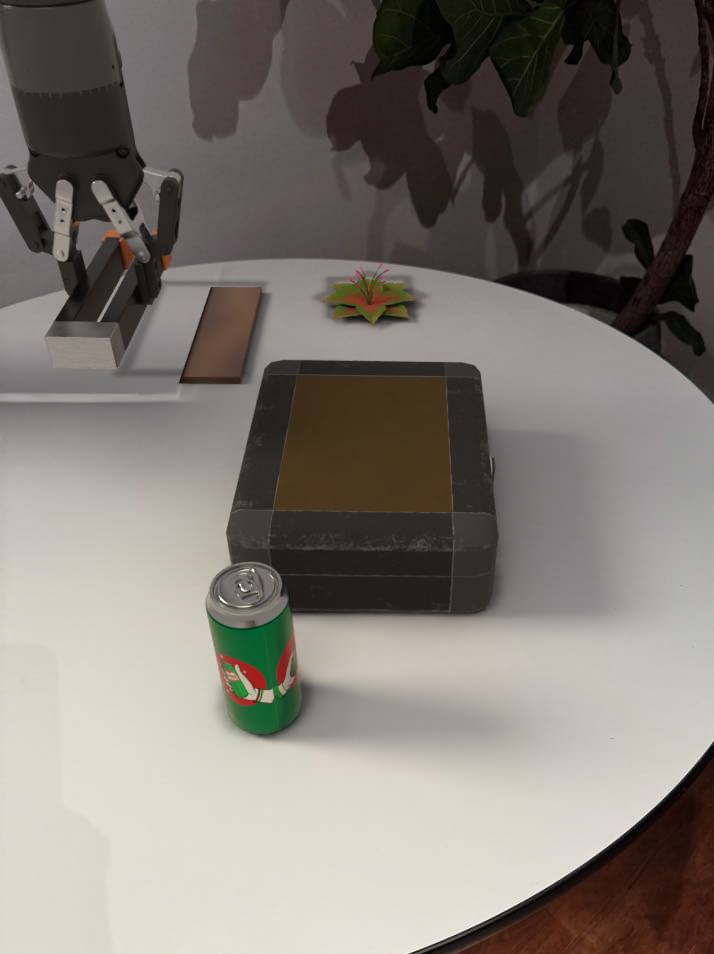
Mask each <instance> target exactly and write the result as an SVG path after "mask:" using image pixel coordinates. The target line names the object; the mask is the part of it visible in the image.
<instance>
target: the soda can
mask: <svg viewBox="0 0 714 954" xmlns="http://www.w3.org/2000/svg"><path fill="white" fill-rule="evenodd" d="M208 589H209V590H208V593H207V595H206V597H205V611H206V616H207V621H208V625H209V629H210V635H211V640H212V644H213V649H214V652H215V653H214V654H215V658H216V662H217V663H216V664H217V667H218V672H219V678H220V682H221V687H222V691H223V697H224V701H225V706H226V710H227V714H228V717H229V719H230V721H231V722H232V723H233V724H234V725H235V726H236V727H237V728H238V729H241V730H242V731H243V732H248V733H250V734H256V735H265V734H272V733H276V732H278V731H280V730H282V729H284V728H286V727H288V726H289V725H290V724H291V723H292V722H293V721H294V720H295V719H296V718H297V716H298V715H299V713H300V712H301V711H300V710H301V708H302V702H303V697H302V688H301V679H300V672H299V661H298V652H297V645H296V644H297V643H296V636H295V628H294V627H295V626H294V619H293V611H292V609H291V600H290V593H289V589H288V587H287V585H286V584H285V582H284V581H283V580H282V579H281V577H280V575H279V574H278V573H277V571H276V570H274V569H273V568H272V567H270V566H268V565H266V564H263V563H258V562H242V563H237V564H233V565H231V564H230V565H228V566H227V567H225V568H223V569H222V570H220V571H218V573H217V574H215V576H214V577H213V579H212V580H211V582H210V584H209V588H208Z"/></svg>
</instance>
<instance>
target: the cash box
mask: <svg viewBox="0 0 714 954" xmlns="http://www.w3.org/2000/svg"><path fill="white" fill-rule="evenodd" d="M481 373H482V372H481V370H479V369H478V367H477V366H476V365H475V364H471V363H467V362H462V361H414V360H413V361H410V360H409V361H407V360H406V361H404V360H403V361H402V360H342V359H341V360H339V359H337V360H336V359H335V360H334V359H332V360H331V359H330V360H329V359H328V360H327V359H280V360H275V361H271V362H270V363H268V364H267V365H266V366H265V367H264V369H263V374H262V377H261V381H260V386H259V389H258V393H257V398H256V402H255V407H254V410H253V411H254V412H253V415H252V420H251V423H250V428H249V432H248V437H247V441H246V445H245V449H244V453H243V458H242V461H241V466H240V471H239V473H238V479H237V483H236V487H235V491H234V496H233V500H232V505H231V508H230V513H229V518H228V522H227V527H226V530H225V535H226V536H225V537H226V541H227V549H228V554H229V560H230V566H231V565H233V564H237V563H242V562H258V563H263V564H266V565H268V566H270V567H272V568H273V569H274V570H276V571H277V573H278V574H279V575H280V577H281V579H282V580H283V581H284V582H285V584H286V585H287V587H288V589H289V593H290V600H291V609H292V612H346V613H347V612H348V613H349V612H350V613H351V612H353V613H354V612H355V613H423V614H424V613H429V614H430V613H431V614H434V613H435V614H473V613H476V612H480V611H483V610H485V609H486V608H487V606H488V604H489V602H490V600H491V598H492V595H493V590H494V589H493V587H494V581H495V580H494V579H495V571H496V563H497V562H496V561H497V555H498V554H497V553H498V545H499V544H498V543H499V530H498V519H497V518H498V517H497V508H496V501H495V500H496V499H495V492H494V483H495V473H496V463H495V462H496V461H495V456H494V457H492V455H491V453H490V445H489V436H488V426H487V416H486V407H485V399H484V398H485V397H484V389H483V380H482V374H481Z"/></svg>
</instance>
